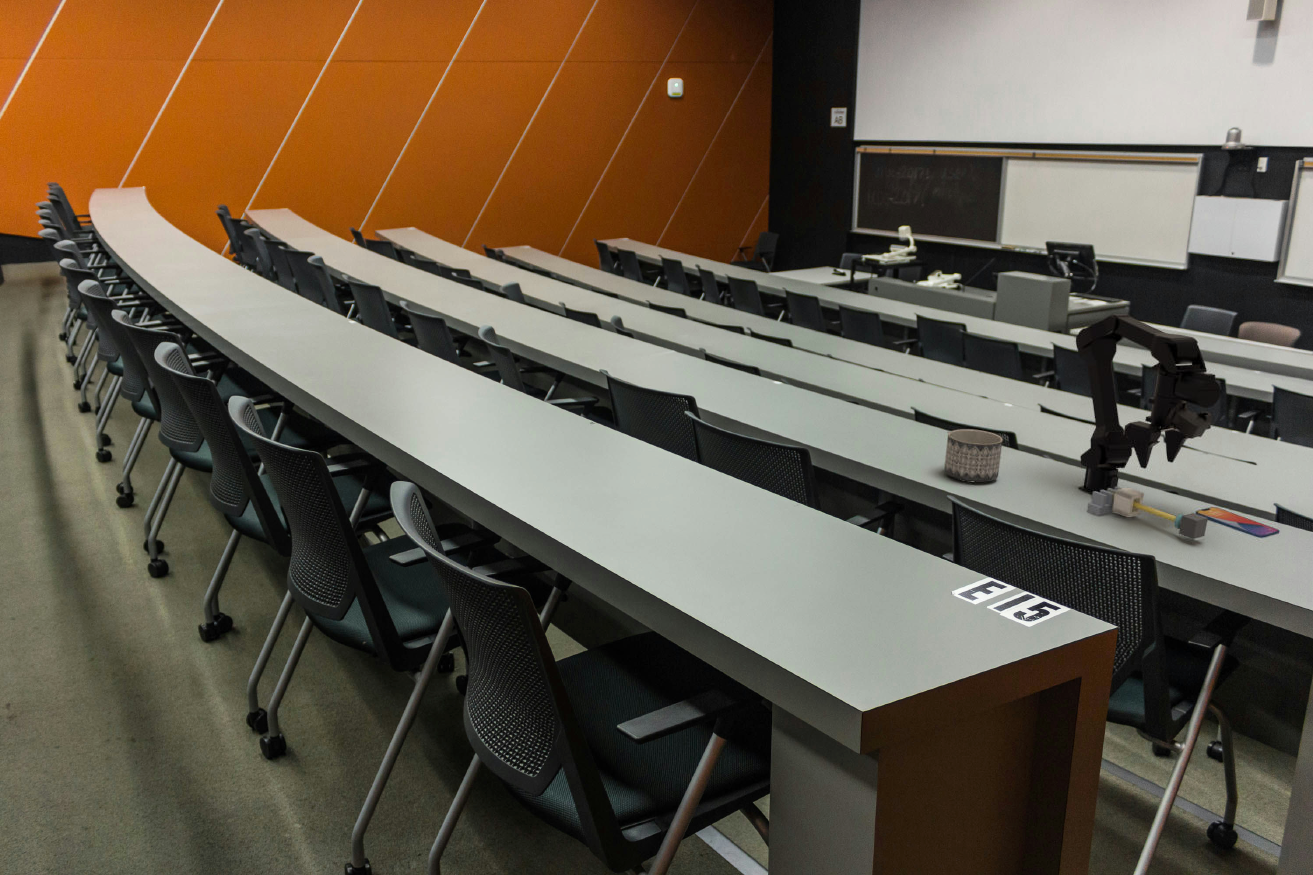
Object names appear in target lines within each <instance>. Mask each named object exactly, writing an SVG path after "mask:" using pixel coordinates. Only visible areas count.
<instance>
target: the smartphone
mask: <svg viewBox="0 0 1313 875" xmlns="http://www.w3.org/2000/svg"><path fill="white" fill-rule="evenodd" d="M1195 514H1198V515H1201V516H1204V517H1206V518H1208V520H1207V521H1210V522H1213V523H1215V524H1218V525H1221V526H1224V527H1227V528H1229V529H1233V530H1235V531H1238V532H1241V533H1245V534H1248V535H1250V536H1253V537H1256V538H1261V539H1262V538H1263V539H1264V538H1267V537H1270V536H1274V535H1278V534H1280V530H1279V529H1278V528H1275V527H1273V526H1270V525H1267V524H1264V523H1262V522H1259V521H1256V520H1254V519H1250V518H1247V517H1246V516H1242V515H1239V514H1237V513H1234V512H1231V511H1228V510H1225V509H1223V508H1221V507H1220V508H1219V507H1216V506H1215V507H1214V506H1211V507H1210V506H1209V507H1206V508H1203V509H1199V510H1196V511H1195Z"/></svg>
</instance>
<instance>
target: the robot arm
mask: <svg viewBox="0 0 1313 875" xmlns="http://www.w3.org/2000/svg"><path fill="white" fill-rule="evenodd" d="M1124 339H1127V340H1128V341H1131V342H1133V343H1135V344H1136V345H1139V346H1141V347H1143V348H1145V349H1146V350H1148V351H1150V355H1151V357H1152V358H1154V359H1155V361H1158V362H1157V363H1156V364H1154V365H1153V366H1151V368H1150V369H1151V371H1154V372H1157V376H1156V377H1157V378H1156V382H1155V383H1156V384H1155V390H1154V395H1153V397H1149V398H1148V404H1152V405H1151V406H1152V407H1151V412H1150V415H1148V416H1146V417H1145V419H1144V420H1145V421H1141V420H1139V421H1138V420H1137V421H1132V422H1129V423H1127V424H1125V425H1124V428H1123V427H1122V425H1121V424H1120V418H1119V410H1118V405H1117V398H1116V389H1115V383H1114V382H1115V381H1114V375H1113V368H1112V362H1113V360H1114V358H1115V356H1116V353H1117V350H1118V348H1117V344H1118V343H1120V342H1121V341H1123V340H1124ZM1075 344H1076V345H1075V346H1076V349H1077V353H1078V356H1079V358H1080V359H1081V360H1082V362H1083V363H1084V364H1085V365H1086V367H1087V372H1088V379H1089V386H1090V392H1091V393H1090V394H1091V400H1092V406H1093V407H1092V408H1093V413H1094V421H1095V428H1094V430H1093V432H1092V435H1091V438H1090V442H1089V443H1090V448H1088V449H1087V450H1086V451H1084V452H1083V453H1082V454H1080V456H1079V458H1080V464H1081V466H1083V467H1086V468H1085V473H1084V479H1083V480H1084V481H1083V485H1080V486H1078V489H1079V490H1082V491H1083V492H1087V493H1089V494H1092V495H1093V492H1094V491H1096V492H1099V493H1100V490H1105V491H1107V489H1108V488H1111V489H1114V488H1115V487H1118V484H1119V475H1118V474H1119V469H1125V468H1126V466H1127V465H1128V462H1129V461H1130V458H1131V457H1132V455H1133V450H1134V453H1135V455H1136V458H1137V461H1138V463H1139V467H1140V468H1142V469H1147V467H1148V464H1149V460H1150V458H1151V454H1152V451H1153V447H1154V446H1156V445H1158V444H1159V443H1160V442H1161V441H1160V440H1159V439H1160V438H1161V435H1162V433H1163V432H1164V437H1165V438H1164V439H1165V452H1166V454H1165V455H1166V459H1167V462H1169V463H1174V461H1175V460H1176V458H1177V457H1178V455H1179V452H1180V451H1181V449H1182V448H1183V446H1184V444H1185V443H1186V441H1187V440H1189V439H1195V438H1201V437H1203V435H1204V434H1205V432H1206V431H1207V430H1210V429H1211V428H1212V418H1213V416H1212V414H1211V413H1210V412H1208V411H1201V412H1199V413H1197V412H1195V411H1194V412H1193V411H1190V408H1189V407H1190V404H1192V405H1195V406H1198V407H1201V408H1205V409H1207V408H1211V407H1213V406H1215V405H1216V404H1217V402H1218V401H1219V400H1220V397H1221V395H1222V390H1221V386H1220V383H1219V382H1218V381H1216V380H1215V379H1216V374H1214V373H1207V371H1208V370H1207V367H1206V362H1205V361H1204V358H1203V355H1202V352H1201V350H1200V347H1199V345H1198V340H1197V339H1196V338H1194V337H1192V336H1188V335H1184V334H1177V333H1176V334H1175V333H1168V332H1164V331H1162V330H1161V329H1158V328H1156V327H1154V326H1152V325H1149V324H1146V323H1144V322H1142V321H1141V320H1139V319H1137V318H1136V319H1135V318H1134V317H1133V316H1131V315H1129V314H1127V313H1126V314H1125V313H1124V314H1123V313H1122V314H1118V313H1117V314H1110V315H1108V316H1107V317H1105V318H1104V319H1103V320H1101V321H1098V322H1096V323H1093V324H1091V325H1089V326H1087V327H1083V328H1081V330H1080V331H1079V332H1078V334H1077V335H1076V337H1075Z"/></svg>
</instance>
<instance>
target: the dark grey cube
mask: <svg viewBox="0 0 1313 875" xmlns="http://www.w3.org/2000/svg"><path fill="white" fill-rule="evenodd" d="M1208 521H1209V520H1208V518H1206V517H1204V516H1201V515H1198V514H1196V512H1195V513H1194V512H1191V513H1188V514H1184V515H1183V516H1182V519H1181V521H1180V529H1178V534H1179V535H1181V536H1184V537H1186V538H1189V539H1192V540H1194V539H1199V538H1203V537H1205V535H1206V530H1207V526H1208V524H1207V523H1208Z"/></svg>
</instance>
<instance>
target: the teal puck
mask: <svg viewBox="0 0 1313 875" xmlns="http://www.w3.org/2000/svg"><path fill="white" fill-rule="evenodd" d="M1183 515H1185V513H1179V514H1178V515H1176V519H1175V521H1174V522H1173V525H1174V527H1175V528H1176V529H1178V530H1180V521H1181V519H1182V516H1183Z"/></svg>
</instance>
